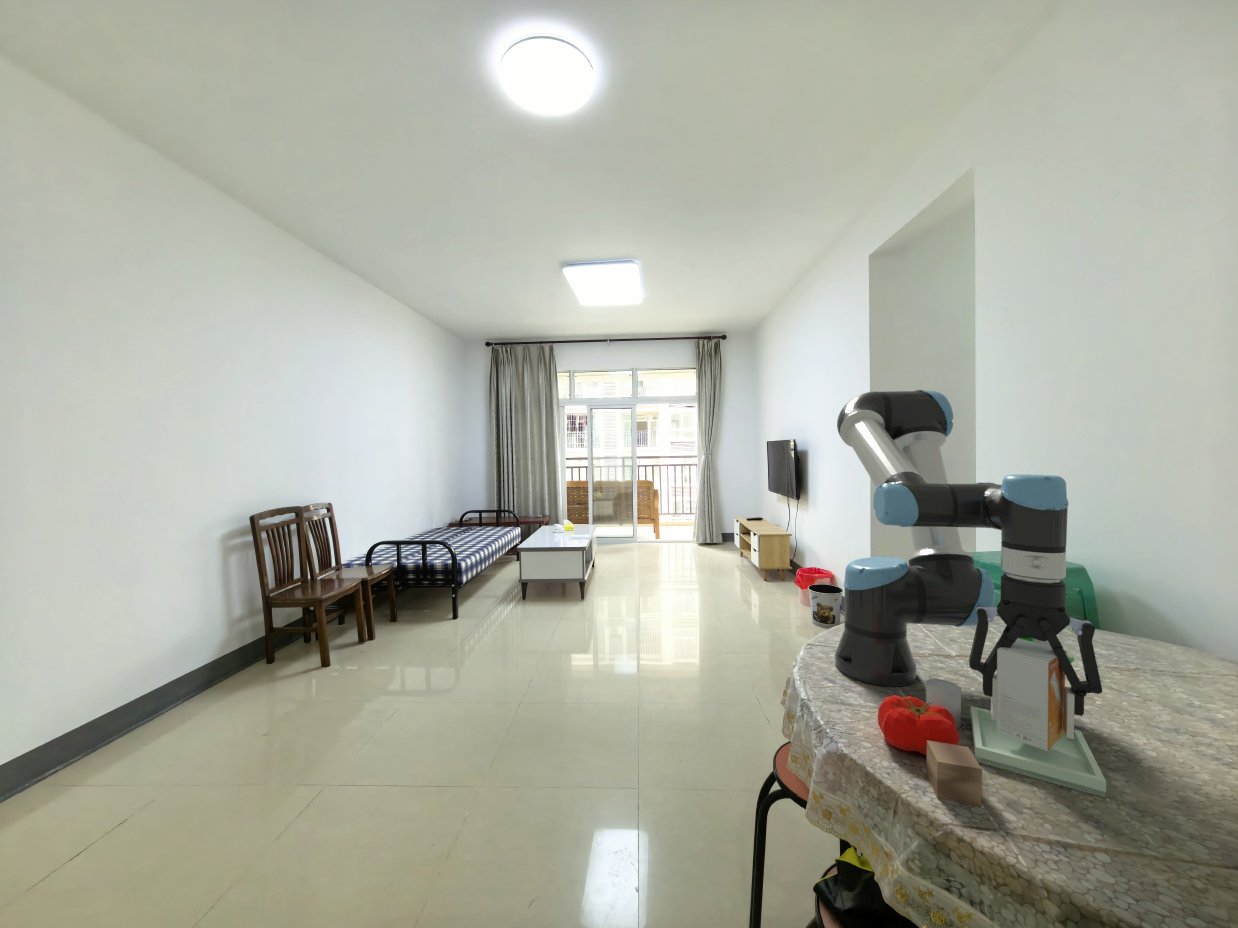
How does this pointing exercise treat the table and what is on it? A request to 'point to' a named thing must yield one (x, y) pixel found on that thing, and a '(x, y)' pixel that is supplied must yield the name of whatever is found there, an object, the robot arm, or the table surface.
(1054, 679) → the small box
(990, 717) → the tray
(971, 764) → the walnut cube
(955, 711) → the grey cylinder
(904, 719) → the tomato
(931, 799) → the table surface
